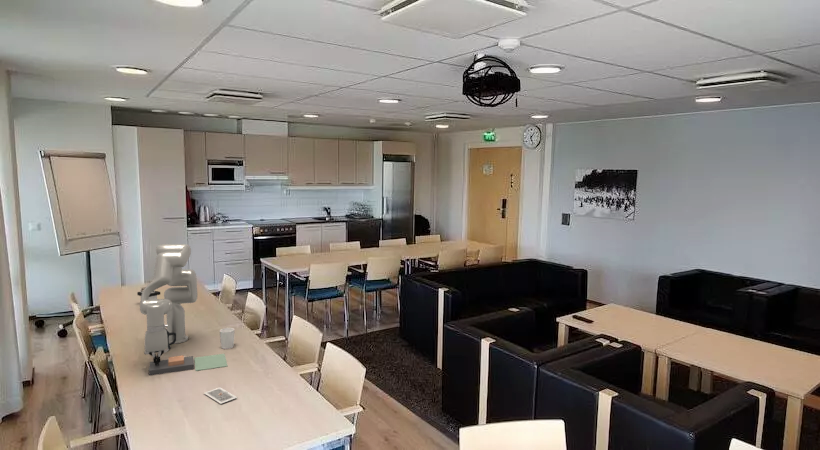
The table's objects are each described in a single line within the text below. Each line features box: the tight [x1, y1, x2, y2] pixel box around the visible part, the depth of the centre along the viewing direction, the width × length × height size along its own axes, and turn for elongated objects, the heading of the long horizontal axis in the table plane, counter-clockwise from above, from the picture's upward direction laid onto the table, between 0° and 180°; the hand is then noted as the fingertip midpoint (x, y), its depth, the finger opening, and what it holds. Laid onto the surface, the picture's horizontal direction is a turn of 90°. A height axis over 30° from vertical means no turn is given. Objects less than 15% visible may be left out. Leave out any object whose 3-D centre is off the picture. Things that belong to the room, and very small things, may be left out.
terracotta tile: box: [167, 355, 185, 366], centre depth 241 cm, size 7×7×2 cm
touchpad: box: [203, 386, 238, 405], centre depth 211 cm, size 8×15×2 cm, turn 50°
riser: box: [148, 355, 195, 376], centre depth 240 cm, size 12×20×2 cm, turn 116°
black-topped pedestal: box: [137, 286, 161, 300], centre depth 349 cm, size 28×26×13 cm
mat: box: [193, 353, 228, 372], centre depth 248 cm, size 18×15×1 cm
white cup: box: [219, 327, 235, 350], centre depth 270 cm, size 8×8×10 cm
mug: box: [155, 328, 176, 353], centre depth 265 cm, size 12×9×11 cm
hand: (157, 363), depth 237 cm, fingers closed
